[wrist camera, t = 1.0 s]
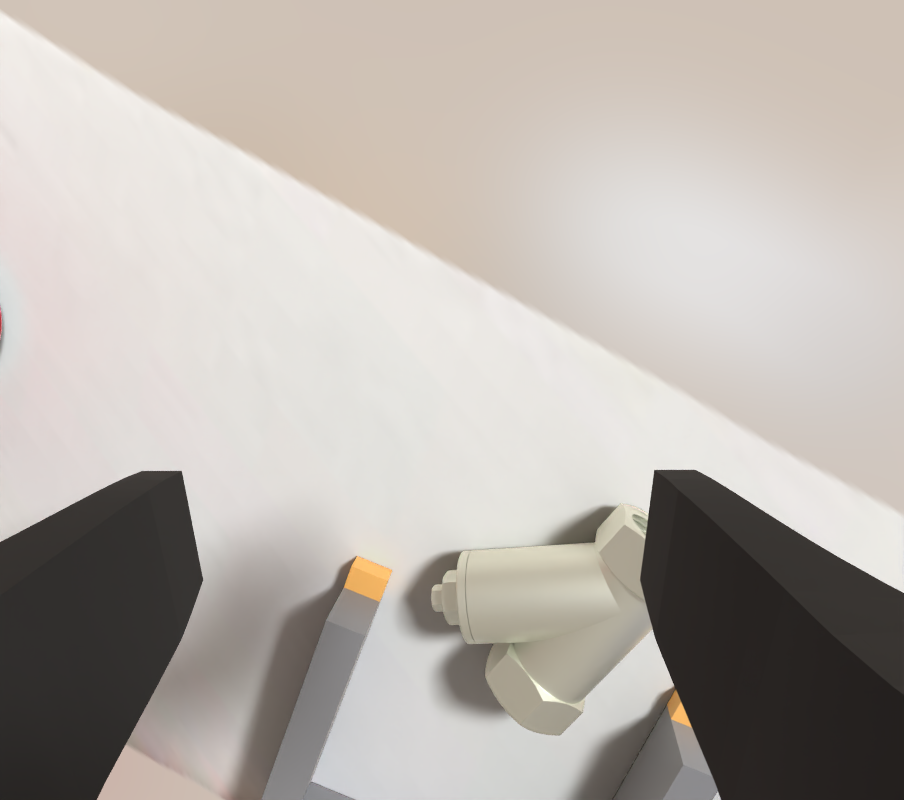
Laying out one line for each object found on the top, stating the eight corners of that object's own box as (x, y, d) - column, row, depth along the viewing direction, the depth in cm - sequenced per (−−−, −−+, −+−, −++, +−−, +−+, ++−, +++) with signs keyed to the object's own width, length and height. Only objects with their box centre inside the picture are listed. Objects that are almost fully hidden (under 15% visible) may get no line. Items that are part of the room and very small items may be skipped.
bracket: (714, 699, 25) (737, 760, 22) (581, 922, 29) (586, 998, 26) (356, 556, 26) (334, 597, 23) (270, 793, 29) (241, 854, 26)
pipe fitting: (426, 583, 26) (559, 686, 26) (401, 637, 22) (556, 758, 22) (549, 435, 24) (695, 546, 24) (543, 467, 20) (716, 599, 20)
